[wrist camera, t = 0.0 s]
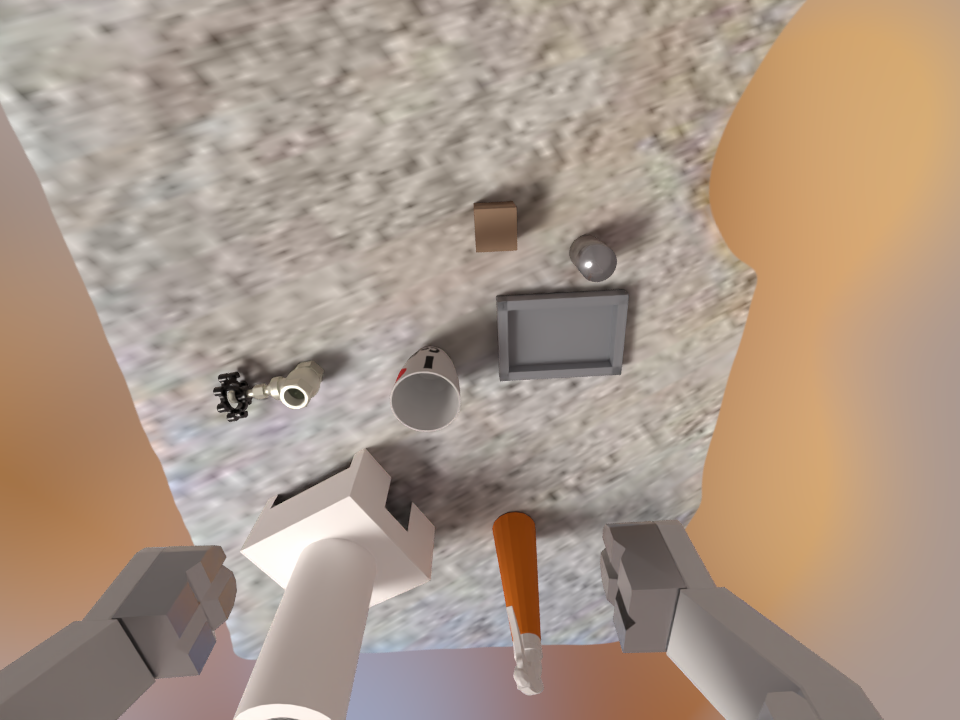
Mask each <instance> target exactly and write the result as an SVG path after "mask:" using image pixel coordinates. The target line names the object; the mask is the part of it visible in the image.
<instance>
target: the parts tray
mask: <svg viewBox="0 0 960 720" xmlns="http://www.w3.org/2000/svg"><path fill="white" fill-rule="evenodd" d="M496 300H497V329H498V358H499V377H500V381H511V380H530V379H548V378H567V377H586V376H604V375H621V370H622V360H623V350H624V340H625V330H626V320H627V310H628V300H629V294H628V293H627V292H626V291H625V290H624V289H619V290H600V291H582V292H563V293H545V294H526V295H508V296H496Z"/></svg>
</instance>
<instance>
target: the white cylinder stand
mask: <svg viewBox="0 0 960 720" xmlns="http://www.w3.org/2000/svg"><path fill="white" fill-rule="evenodd" d="M390 482H391V477H390V476H389V474H388V473H387V472H386V471H385V470H384V469H383V468H382V466H381V465H380V464H379V463H378V462H377V461H376V460H375V459H374V457H373V456H372V455H371V454H370V453H369V452H368V451H367V449H366V448H365V449H363V450H361V451H359V452H357V453H355V454H354V457H353V460H352V463H351V465H350V468H348V469H346V470H344V471H342V472H340V473H338V474H336V475H334V476H332V477H330V478H328V479H327V480H325V481H323V482H321V483H319V484H317V485H315V486H313V487H311V488H309V489H307V490H305V491H304V492H302V493H300V494H298V495H296V496H294V497H292V498H290V499H288V500H286V501H284V502H282V503H281V504H279V505H277V506H275V505H274V504H273V503H274V501H275V499H276V497H277V495H276V496H274V497H272V498H270V499H268V501H267V503H266V505H265V507H264V508H263V510H262V512H261V514H260V516H259V517H258V519H257V521H256V523H255V525H254V527H253V528H252V530H251V532H250V534H249V536H248V537H247V539H246V541H245V543H244V545H243V547H242V548H241V550H240V552H241V553H242V554H243V555H244V556H246V557H247V558H248V559H249V560H250V561H252V562H253V563H254V564H255V565H256V566H258V567H259V568H260V569H261V570H262V571H264V572H265V573H266V574H267V575H268V576H269V577H271V578H272V579H273V580H274V581H275V582H277V583H278V584H279V585H280V586H281V587H283V588H284V589H285V592H284V595H283V597H282V600H281V602H280V605H279V607H278V610H277V612H276V615H275V617H274V620H273V622H272V625H271V627H270V629H269V632H268V634H267V637H266V639H265V642H264V644H263V647H262V649H261V652H260V654H259V657H258V659H257V662H256V664H255V667H254V669H253V672H252V674H251V677H250V679H249V682H248V684H247V687H246V689H245V692H244V694H243V696H242V699H241V701H240V704H239V706H238V709H237V711H236V714H235V716H234V719H233V720H346V715H347V710H348V705H349V701H350V696H351V691H352V686H353V682H354V677H355V672H356V667H357V662H358V658H359V653H360V648H361V644H362V639H363V634H364V630H365V625H366V620H367V615H368V611H369V607H371V606H373V605H376V604H378V603H380V602H383V601H385V600H387V599H389V598H392V597H394V596H396V595H399V594H401V593H403V592H405V591H408V590H410V589H412V588H415V587H417V586H419V585H421V584H424V583H426V582H428V581H431V569H432V557H433V546H434V534H435V527H434V525H433V524H432V523H431V522H430V521H429V520H428V519H427V517H426V516H425V515H424V514H423V513H422V512H421V511H420V510H419V508H418V507H417V506H416V505H415V504H414V503H413V502H412V506H411V513H410V519H409V526H408V532H407V531H406V530H405V529H404V528H403V527H402V526H401V524H400V523H399V522H398V521H397V520H396V519H395V518H394V517H393V516H392V515H391V514H390V513H389V512H388V510H387V509H386V508H385V504H386V499H387V495H388V490H389V486H390Z"/></svg>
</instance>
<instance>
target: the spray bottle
mask: <svg viewBox="0 0 960 720" xmlns="http://www.w3.org/2000/svg"><path fill="white" fill-rule="evenodd" d="M492 529H493V535H494V541H495V546H496V552H497V557H498V563H499V568H500V574H501V579H502V585H503V591H504V596H505V602H506V609H507V613H508V618H509V624H510V629H511V635H512V641H513V648H514V657H515V660H516V663H517V666H516V667H515V671H514V676H513V677H514V679H515V680H516V683H517V689H518V690H519V689H520V690H521V691H522V692H523V693H524V694H527V695H533V694H537V693H541V692H542V691H543V689H544V687H543V683H542V680H541V677H540V676H541V671H542V666H541V659H542V657H543V655H542V648H541V633H540V613H539V592H538V571H537V551H536V530H535V523H534V521H533V520H532V519H531V518H530V517H529V516H527V515H526V514H524V513H518V512H512V513H506V514H504V515H502V516H500V517H499V518H498V519H497V520H496V521H495V522H494V525H493V528H492Z"/></svg>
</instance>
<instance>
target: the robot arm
mask: <svg viewBox="0 0 960 720" xmlns="http://www.w3.org/2000/svg"><path fill="white" fill-rule="evenodd" d="M602 538H603V541H604V544H605V547H606V548H605V549H604V550H603V551H602V552H601V560H600V567H601V578H602V583H603V588H604V591H605V595H606V598H607V600H608V601H609V602H610V603H611V604H612V605H613V606H614V616H613V622H614V625H615V628H616V632H617V635H618V638H619V641H620V645H621V648H622V651H623V653H639V652H667V655H668V656H669V658H670V659H671V660H672V661H673V662H674V663H675V664H676V665H677V666H678V667H679V669H680V670H681V671H682V672H683V673H684V674H685V675H686V676H687V677H688V678H689V679H690V681H691V682H692V683H693V684H694V685H695V686H696V687H697V688H698V689H699V690H700V691H701V693H702V694H703V695H704V696H705V697H706V698H707V699H708V700H709V701H710V702H711V704H713V706H714V707H715V708H716V709H717V710H718V711H719V712H720V713H721V714H722V716H724V718H725V719H726V720H883V718H882V717H881V715H880V714H879V712H878V711H877V710H876V708H875V707H874V706H873V704H872V703H871V701H870V700H869V698H868V697H867V696H866V694H865V693H864V691H863V690H862V688H861V687H860V686H859V685H858V684H856V683H855V682H854V681H852V680H851V679H849V678H848V677H847V676H845V675H844V674H843V673H841V672H840V671H838V670H837V669H836V668H834V667H833V666H831V665H830V664H829V663H828V662H826V661H825V660H823V659H822V658H820V657H819V656H818V655H817V654H815V653H814V652H812V651H811V650H810V649H808V648H807V647H806V646H804V645H803V644H802V643H800V642H799V641H797V640H796V639H795V638H793V637H792V636H791V635H789V634H788V633H786V632H785V631H784V630H782V629H781V628H780V627H778V626H777V625H776V624H774V623H773V622H771V621H770V620H769V619H767V618H766V617H765V616H763V615H762V614H761V613H759V612H758V611H756V610H755V609H754V608H752V607H751V606H750V605H748V604H747V603H745V602H744V601H743V600H741V599H740V598H739V597H737V596H736V595H734V594H733V593H732V592H730V591H729V590H728V589H726V588H725V587H716V585H715V583H714V581H713V580H712V578H711V576H710V574H709V572H708V571H707V569H706V567H705V565H704V563H703V562H702V560H701V558H700V556H699V555H698V553H697V551H696V549H695V547H694V546H693V544H692V542H691V540H690V539H689V537H688V535H687V533H686V531H685V529H684V528H683V526H682V524H681V523H680V522H679V521H678V520H662V521H652V522H651V521H643V522H628V523H613V524H605V526H604V528H603V536H602ZM225 559H226V555H225V553H224V551H223V549H222V547H221V546H215V545H211V546H174V547H152V548H144V549H142V550H141V551H139V552H137V553H136V554H135V555H134V557H133V558H132V559H131V560H130V562H129V563H128V564H127V565H126V566H125V568H124V569H123V570H122V571H121V573H120V574H119V575H118V576H117V578H116V579H115V580H114V581H113V583H112V584H111V585H110V586H109V588H108V589H107V590H106V592H105V593H104V594H103V595H102V596H101V598H100V599H99V600H98V601H97V603H96V604H95V605H94V606H93V608H92V609H91V610H90V611H89V613H88V614H87V615H86V616H85V618H84V619H83V620H82V621H75V622H72V623H71V624H69V625H68V626H66V627H65V628H63V629H62V630H60V631H59V632H57V633H56V634H55V635H53V636H51V637H50V638H48V639H47V640H45V641H44V642H43V643H41V644H40V645H38V646H36V647H35V648H33V649H32V650H30V651H29V652H28V653H26V654H25V655H23V656H21V657H20V658H19V659H17V660H16V661H14V662H12V663H11V664H10V665H8V666H7V667H5V668H4V669H2V670H1V671H0V720H117V719H118V718H119V717H120V716H121V715H122V714H123V713H124V712H125V711H126V710H127V709H128V708H129V707H130V706H131V705H132V704H133V703H134V702H135V701H136V700H137V699H138V698H139V697H140V696H141V695H142V694H143V693H144V692H145V691H146V690H147V689H148V688H149V687H150V686H151V685H152V684H153V683H154V682H155V679H159V678H171V677H183V676H194V675H200V673H201V671H202V669H203V667H204V665H205V663H206V661H207V659H208V657H209V655H210V653H211V651H212V649H213V647H214V645H215V643H216V637H215V632H214V630H216V629H217V628H218V627H219V626H220V625H221V624H223V623H224V622H225V621H226V620H227V619H228V617H229V615H230V613H231V610H232V608H233V606H234V602H235V597H236V592H237V588H236V579H235V577H234V574H233V572H232V571H231V570H229V569H228V568H226V567H225V566H223V565H222V564H223V562H224V561H225Z"/></svg>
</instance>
